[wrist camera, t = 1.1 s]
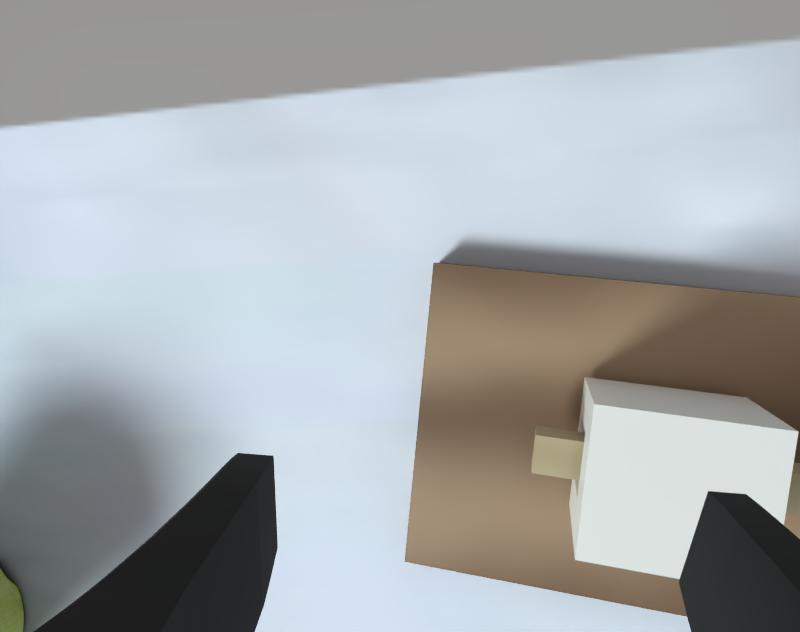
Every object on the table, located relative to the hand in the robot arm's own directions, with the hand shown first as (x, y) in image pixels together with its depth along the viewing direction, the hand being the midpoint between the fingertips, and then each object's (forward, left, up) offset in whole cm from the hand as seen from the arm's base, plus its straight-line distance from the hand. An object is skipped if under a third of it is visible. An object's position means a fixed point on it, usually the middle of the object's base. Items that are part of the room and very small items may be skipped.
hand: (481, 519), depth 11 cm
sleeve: (-1, -5, -12) cm, 13 cm away
